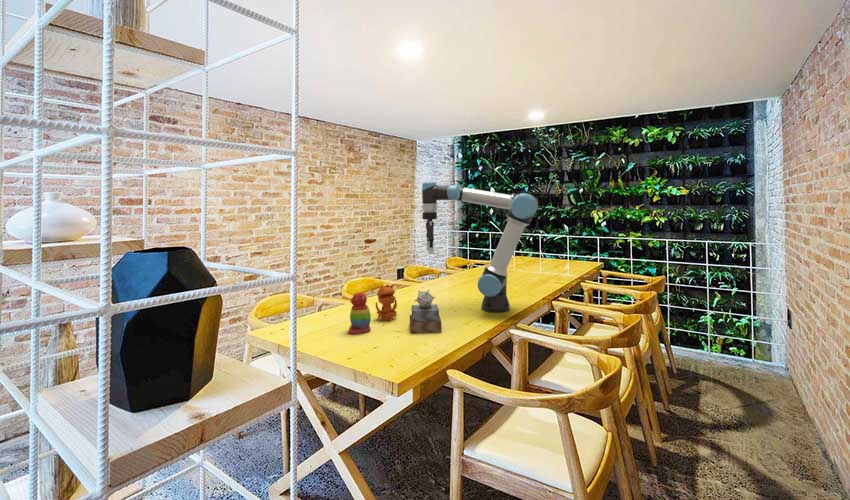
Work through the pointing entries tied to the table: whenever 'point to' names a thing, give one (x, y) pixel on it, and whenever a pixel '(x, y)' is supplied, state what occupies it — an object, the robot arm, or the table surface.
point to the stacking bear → (359, 315)
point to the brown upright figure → (386, 303)
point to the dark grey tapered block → (425, 319)
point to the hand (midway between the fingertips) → (430, 252)
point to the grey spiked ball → (424, 299)
